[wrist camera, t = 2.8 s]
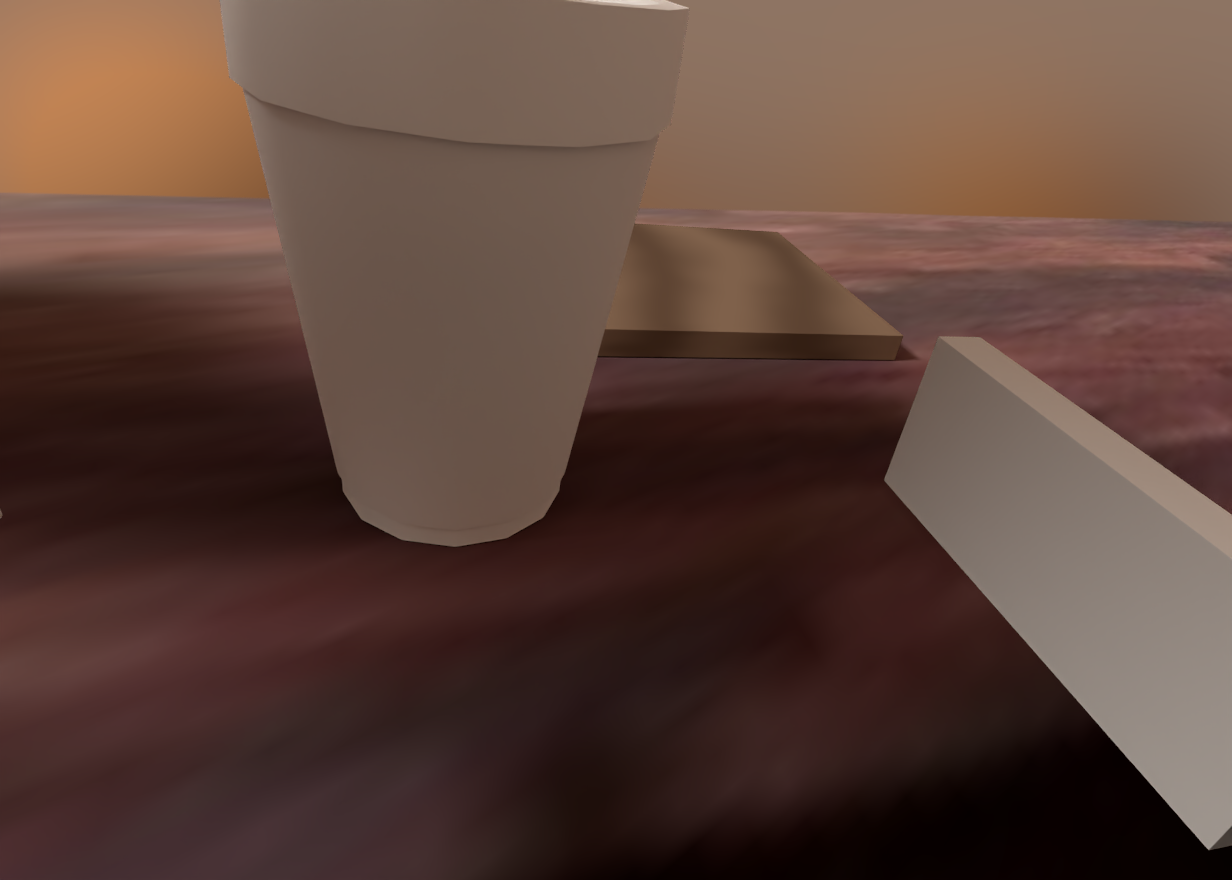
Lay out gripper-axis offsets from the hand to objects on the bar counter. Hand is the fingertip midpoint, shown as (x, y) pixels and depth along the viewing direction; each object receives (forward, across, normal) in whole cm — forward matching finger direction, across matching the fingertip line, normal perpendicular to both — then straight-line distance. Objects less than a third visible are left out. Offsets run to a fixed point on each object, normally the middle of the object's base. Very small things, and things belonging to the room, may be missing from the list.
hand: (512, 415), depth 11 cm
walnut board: (+25, +10, -8) cm, 28 cm away
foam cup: (+10, 0, -8) cm, 13 cm away
